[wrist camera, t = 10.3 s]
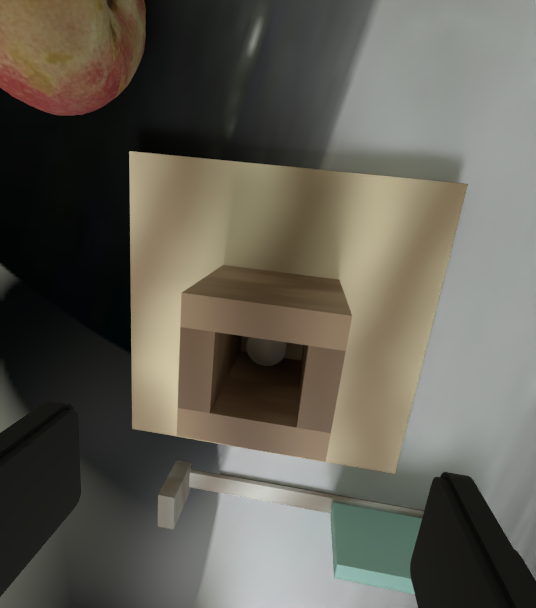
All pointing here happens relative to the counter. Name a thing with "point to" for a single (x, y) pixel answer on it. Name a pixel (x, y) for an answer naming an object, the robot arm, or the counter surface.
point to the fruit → (70, 51)
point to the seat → (296, 260)
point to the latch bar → (373, 546)
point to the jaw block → (256, 378)
